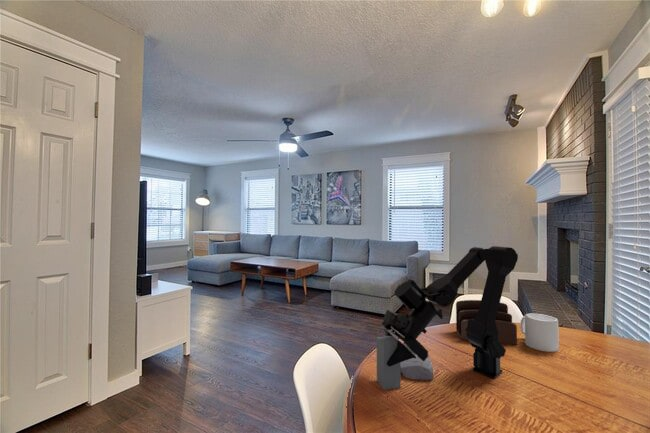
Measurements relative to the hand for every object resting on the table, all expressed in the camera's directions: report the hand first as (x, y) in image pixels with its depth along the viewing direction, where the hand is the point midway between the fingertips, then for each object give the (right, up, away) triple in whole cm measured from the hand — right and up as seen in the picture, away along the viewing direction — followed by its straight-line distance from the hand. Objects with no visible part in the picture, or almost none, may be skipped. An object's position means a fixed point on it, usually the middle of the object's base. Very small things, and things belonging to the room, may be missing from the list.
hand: (383, 360), depth 83 cm
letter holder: (+48, -8, +35) cm, 60 cm away
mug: (+65, -8, +28) cm, 71 cm away
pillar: (+1, -7, 0) cm, 7 cm away
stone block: (+11, -7, +8) cm, 16 cm away
